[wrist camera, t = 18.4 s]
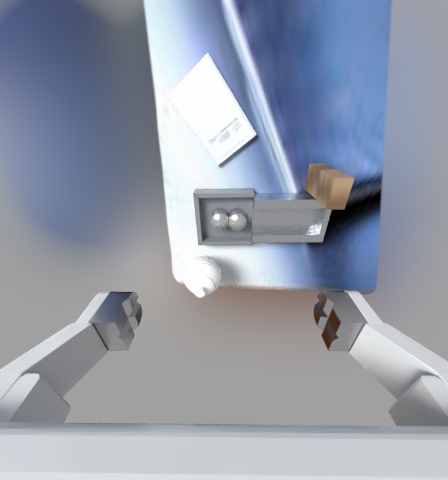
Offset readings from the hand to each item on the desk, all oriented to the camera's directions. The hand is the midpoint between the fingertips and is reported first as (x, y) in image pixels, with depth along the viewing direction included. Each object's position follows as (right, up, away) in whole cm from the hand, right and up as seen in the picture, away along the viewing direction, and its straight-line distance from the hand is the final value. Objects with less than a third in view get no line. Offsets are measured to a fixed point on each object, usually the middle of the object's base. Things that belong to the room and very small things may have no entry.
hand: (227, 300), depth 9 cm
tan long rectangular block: (+16, +14, +28) cm, 35 cm away
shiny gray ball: (-1, +8, +31) cm, 32 cm away
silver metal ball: (+2, +8, +31) cm, 32 cm away
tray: (0, +8, +32) cm, 33 cm away
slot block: (+12, +8, +32) cm, 35 cm away
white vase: (-4, -1, +37) cm, 37 cm away
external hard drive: (-2, +23, +23) cm, 33 cm away
